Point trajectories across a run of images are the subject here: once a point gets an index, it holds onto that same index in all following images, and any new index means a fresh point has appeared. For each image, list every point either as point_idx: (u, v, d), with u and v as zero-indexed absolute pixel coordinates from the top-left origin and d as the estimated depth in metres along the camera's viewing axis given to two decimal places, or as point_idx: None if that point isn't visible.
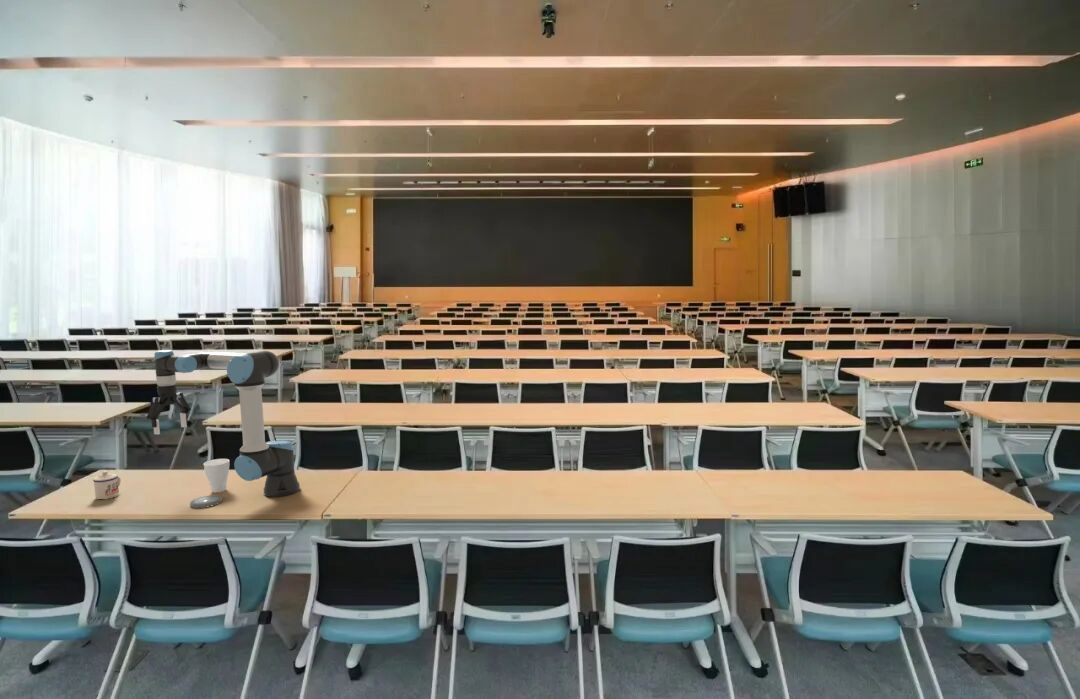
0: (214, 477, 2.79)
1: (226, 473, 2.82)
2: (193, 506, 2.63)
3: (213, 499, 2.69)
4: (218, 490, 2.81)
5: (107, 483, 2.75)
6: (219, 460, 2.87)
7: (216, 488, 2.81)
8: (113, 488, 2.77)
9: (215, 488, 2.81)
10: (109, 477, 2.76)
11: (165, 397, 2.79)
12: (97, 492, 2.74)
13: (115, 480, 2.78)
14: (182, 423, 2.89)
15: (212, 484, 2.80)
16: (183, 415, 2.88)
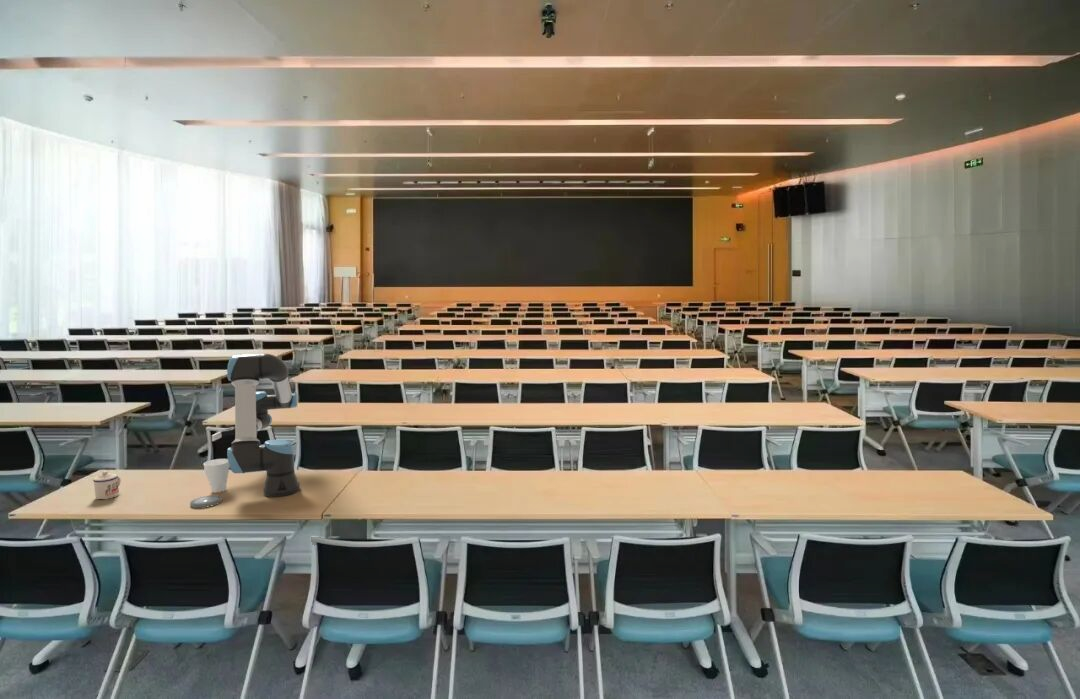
0: (214, 477, 2.79)
1: (226, 473, 2.82)
2: (193, 506, 2.63)
3: (213, 499, 2.69)
4: (218, 490, 2.81)
5: (107, 483, 2.75)
6: (219, 460, 2.87)
7: (216, 488, 2.81)
8: (113, 488, 2.77)
9: (215, 488, 2.81)
10: (109, 477, 2.76)
11: None
12: (97, 492, 2.74)
13: (115, 480, 2.78)
14: None
15: (212, 484, 2.80)
16: None
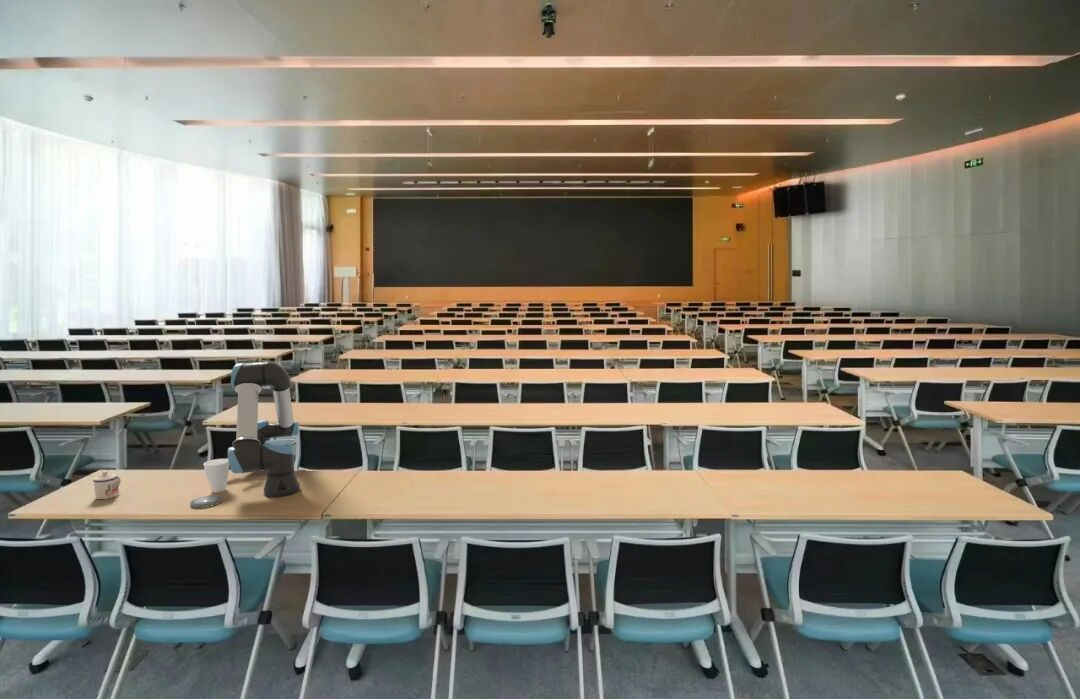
0: (214, 477, 2.79)
1: (226, 473, 2.82)
2: (193, 506, 2.63)
3: (213, 499, 2.69)
4: (218, 490, 2.81)
5: (107, 483, 2.75)
6: (219, 460, 2.87)
7: (216, 488, 2.81)
8: (113, 488, 2.77)
9: (215, 488, 2.81)
10: (109, 477, 2.76)
11: None
12: (97, 492, 2.74)
13: (115, 480, 2.78)
14: None
15: (212, 484, 2.80)
16: None
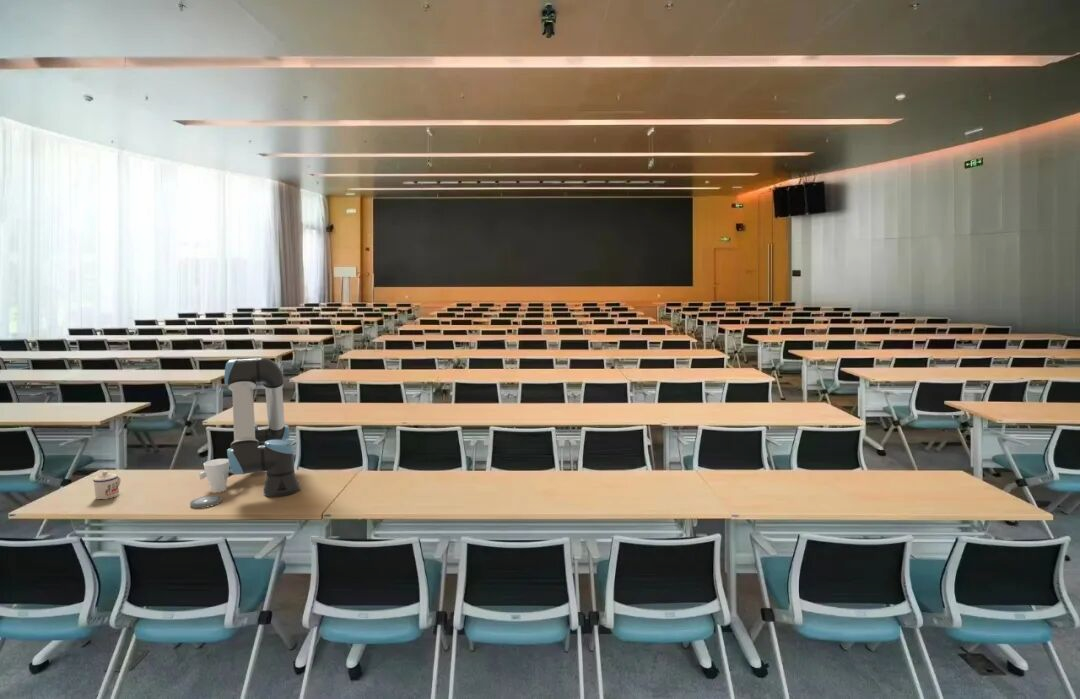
0: (214, 477, 2.79)
1: None
2: (193, 506, 2.63)
3: (213, 499, 2.69)
4: (218, 490, 2.81)
5: (107, 483, 2.75)
6: (219, 460, 2.87)
7: (216, 488, 2.81)
8: (113, 488, 2.77)
9: (215, 488, 2.81)
10: (109, 477, 2.76)
11: None
12: (97, 492, 2.74)
13: (115, 480, 2.78)
14: None
15: (212, 484, 2.80)
16: None
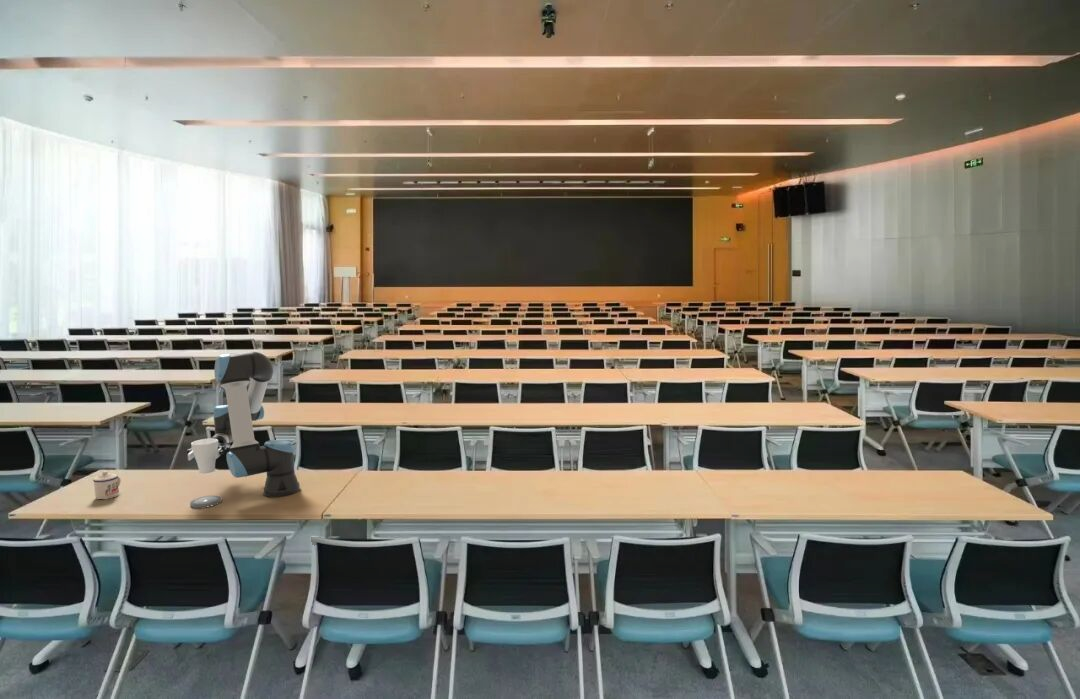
0: (205, 456, 2.69)
1: None
2: (193, 506, 2.63)
3: (213, 499, 2.69)
4: (208, 470, 2.71)
5: (107, 483, 2.75)
6: (204, 440, 2.76)
7: (206, 469, 2.71)
8: (113, 488, 2.77)
9: (205, 468, 2.71)
10: (109, 477, 2.76)
11: None
12: (97, 492, 2.74)
13: (115, 480, 2.78)
14: None
15: (202, 464, 2.70)
16: None
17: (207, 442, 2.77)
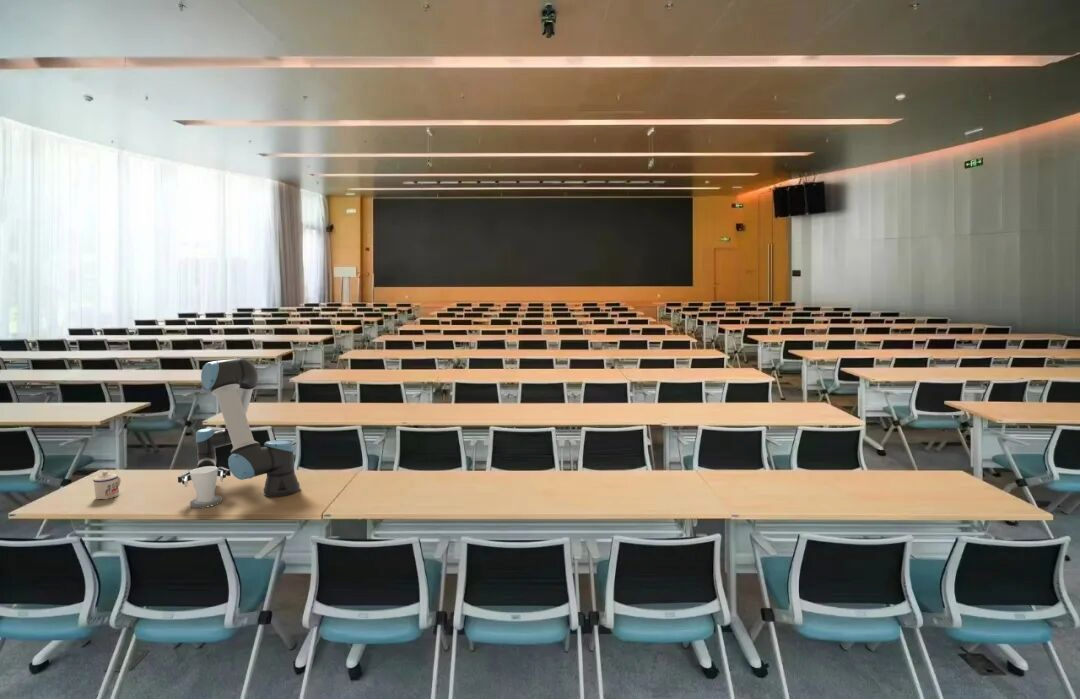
0: (207, 484, 2.64)
1: (216, 480, 2.69)
2: (193, 506, 2.63)
3: None
4: (210, 499, 2.66)
5: (107, 483, 2.75)
6: (200, 469, 2.70)
7: (207, 497, 2.65)
8: (113, 488, 2.77)
9: (206, 497, 2.65)
10: (109, 477, 2.76)
11: None
12: (97, 492, 2.74)
13: (115, 480, 2.78)
14: None
15: (203, 493, 2.64)
16: (220, 473, 2.72)
17: (203, 470, 2.71)
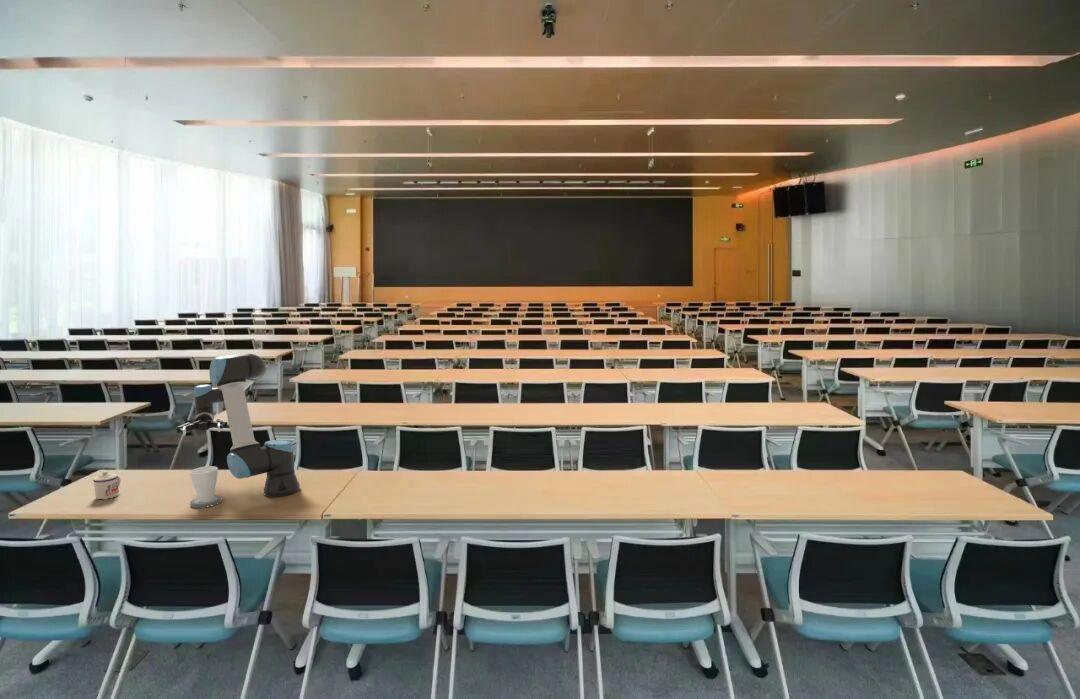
0: (207, 484, 2.64)
1: (216, 480, 2.69)
2: (193, 506, 2.63)
3: None
4: (210, 499, 2.66)
5: (107, 483, 2.75)
6: (200, 469, 2.70)
7: (207, 497, 2.65)
8: (113, 488, 2.77)
9: (206, 497, 2.65)
10: (109, 477, 2.76)
11: None
12: (97, 492, 2.74)
13: (115, 480, 2.78)
14: (218, 428, 2.78)
15: (203, 493, 2.64)
16: (218, 424, 2.81)
17: (203, 470, 2.71)
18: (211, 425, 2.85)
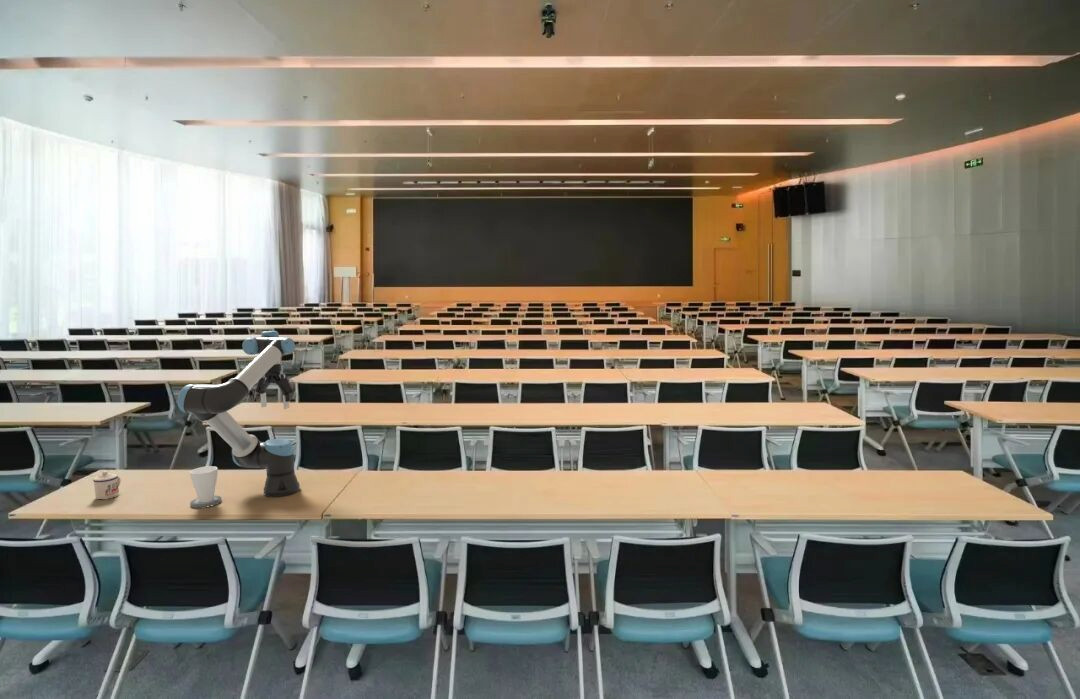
0: (207, 485, 2.64)
1: (216, 480, 2.69)
2: (193, 506, 2.63)
3: None
4: (209, 499, 2.66)
5: (107, 483, 2.75)
6: (200, 469, 2.70)
7: (207, 497, 2.65)
8: (113, 488, 2.77)
9: (206, 497, 2.65)
10: (109, 477, 2.76)
11: (267, 375, 2.94)
12: (97, 492, 2.74)
13: (115, 480, 2.78)
14: None
15: (203, 493, 2.64)
16: None
17: (203, 470, 2.71)
18: None
